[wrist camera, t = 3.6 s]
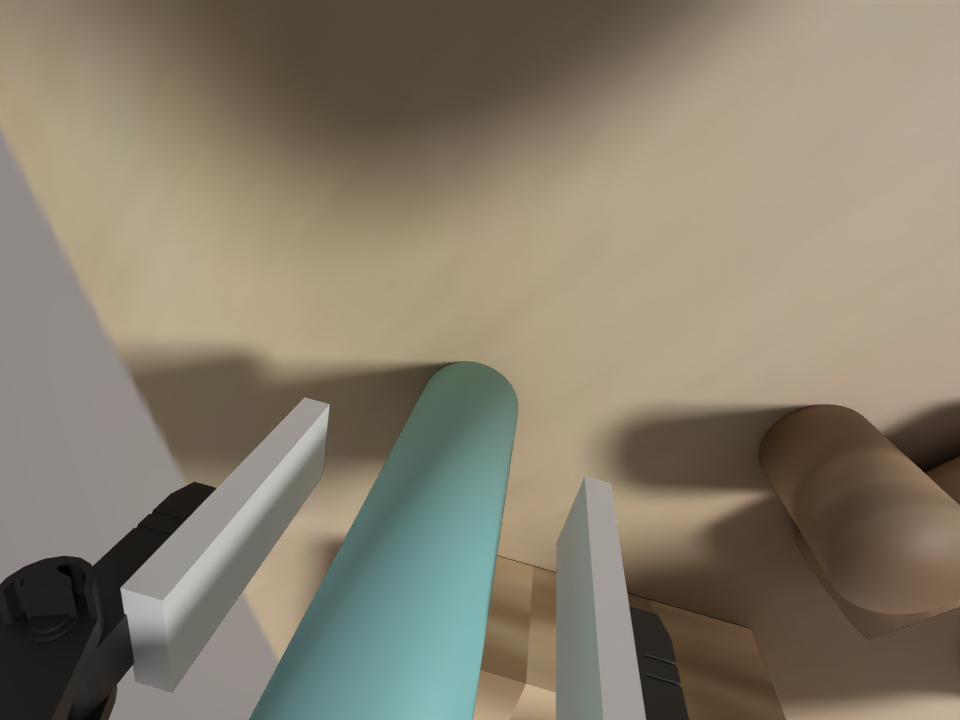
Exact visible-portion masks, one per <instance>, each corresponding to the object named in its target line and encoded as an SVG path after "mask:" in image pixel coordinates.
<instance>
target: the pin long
mask: <svg viewBox="0 0 960 720" xmlns="http://www.w3.org/2000/svg"><path fill="white" fill-rule="evenodd" d="M517 416H518V400H517V396H516V394H515V391H514V389H513V387H512V386H511V384H510V383H509V382H508V380H507V379H506V378H505V377H504V376H503V375H501V374H500V373H499V372H497V371H496V370H494V369H493V368H490V367H488V366H486V365H483V364H480V363H475V362H458V363H453V364H450V365H447V366H445V367H443V368H441V369H440V370H438V371H437V372H436V373H435V374H434V375H433V376H432V377H431V378H430V379H429V381H428V382H427V384H426V386H425V388H424V390H423V392H422V394H421V396H420V398H419V399H418V401H417V403H416V405H415V407H414V409H413V411H412V413H411V415H410V416H409V418H408V420H407V422H406V424H405V426H404V428H403V430H402V432H401V434H400V435H399V437H398V439H397V441H396V443H395V445H394V447H393V449H392V451H391V452H390V454H389V456H388V458H387V460H386V462H385V464H384V466H383V468H382V469H381V471H380V473H379V475H378V477H377V479H376V481H375V483H374V485H373V486H372V488H371V490H370V492H369V494H368V496H367V498H366V500H365V502H364V503H363V505H362V507H361V509H360V511H359V513H358V515H357V517H356V519H355V520H354V522H353V524H352V526H351V528H350V530H349V532H348V534H347V536H346V537H345V539H344V541H343V543H342V545H341V547H340V549H339V551H338V553H337V554H336V556H335V558H334V560H333V562H332V564H331V566H330V568H329V570H328V571H327V573H326V575H325V577H324V579H323V581H322V583H321V585H320V587H319V588H318V590H317V592H316V594H315V596H314V598H313V600H312V602H311V604H310V605H309V607H308V609H307V611H306V613H305V615H304V617H303V619H302V621H301V622H300V624H299V626H298V628H297V630H296V632H295V634H294V636H293V638H292V639H291V641H290V643H289V645H288V647H287V649H286V651H285V653H284V655H283V656H282V658H281V660H280V662H279V664H278V666H277V668H276V670H275V672H274V674H273V675H272V677H271V679H270V681H269V683H268V685H267V687H266V689H265V690H264V692H263V694H262V696H261V698H260V700H259V702H258V704H257V706H256V707H255V709H254V711H253V713H252V715H251V717H250V719H249V720H473V716H474V710H475V703H476V696H477V689H478V682H479V675H480V669H481V662H482V655H483V648H484V641H485V634H486V628H487V621H488V614H489V607H490V600H491V593H492V587H493V580H494V573H495V566H496V559H497V552H498V546H499V539H500V532H501V525H502V518H503V511H504V505H505V498H506V491H507V484H508V477H509V470H510V464H511V457H512V450H513V443H514V436H515V429H516V423H517Z"/></svg>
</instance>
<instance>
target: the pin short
mask: <svg viewBox="0 0 960 720" xmlns="http://www.w3.org/2000/svg"><path fill="white" fill-rule="evenodd" d="M759 461H760V465H761V467H762V469H763V471H764V473H765V474H766V476H767V478H768V479H769V481H770V483H771V484H772V486H773V487H774V489H775V491H776V492H777V494H778V496H779V497H780V499H781V501H782V502H783V504H784V505H785V507H786V509H787V510H788V512H789V514H790V515H791V517H792V519H793V520H794V522H795V524H796V525H797V527H798V528H799V530H800V532H801V533H802V535H803V537H804V538H805V540H806V542H807V543H808V545H809V547H810V548H811V550H812V551H813V553H814V555H815V556H816V558H817V560H818V561H819V563H820V565H821V566H822V568H823V570H824V571H825V573H826V574H827V576H828V578H829V579H830V581H831V583H832V584H833V586H834V588H835V589H836V590H837V592H838V593H839V594H840V595H841V596H842V597H843V598H845V599H846V600H847V601H849V602H851V603H852V604H854V605H856V606H858V607H861V608H864V609H867V610H870V611H874V612H880V613H887V614H910V613H918V612H924V611H929V610H933V609H937V608H940V607H943V606H945V605H948V604H950V603H953V602H955V601H957V600H959V599H960V505H959V504H957V503H956V502H955V501H954V500H953V499H952V498H951V497H950V496H949V495H948V494H947V493H946V492H944V491H943V490H942V489H941V488H940V487H939V486H938V485H937V484H936V483H935V482H934V481H933V480H931V479H930V478H929V477H928V476H927V475H926V474H925V473H924V472H923V471H922V470H921V469H920V468H918V467H917V466H916V465H915V464H914V463H913V462H912V461H911V460H910V459H909V458H908V457H907V456H905V455H904V454H903V453H902V452H901V451H900V450H899V449H898V448H897V447H896V446H895V445H894V444H893V443H891V442H890V441H889V440H888V439H887V438H886V437H885V436H884V435H883V434H882V433H881V432H880V431H878V430H877V429H876V428H875V427H874V426H873V425H872V424H871V423H870V422H869V421H868V420H867V419H865V418H864V417H863V416H862V415H861V414H859V413H858V412H856V411H854V410H852V409H849V408H846V407H843V406H838V405H814V406H809V407H805V408H802V409H799V410H796V411H794V412H791V413H789V414H788V415H786V416H784V417H783V418H781V419H780V420H778V421H777V422H776V423H775V424H774V425H773V426H772V427H771V428H770V429H769V430H768V431H767V433H766V434H765V436H764V437H763V439H762V441H761V444H760V448H759Z"/></svg>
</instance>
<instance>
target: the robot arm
mask: <svg viewBox="0 0 960 720" xmlns="http://www.w3.org/2000/svg"><path fill="white" fill-rule="evenodd" d="M329 406H330V404H327V403H323V402H320V401H316V400H312V399H309V398H304V399H303V400H302V401H301V402H300V403H299V404H298V405H297V406H296V407H295V408H294V409H293V410H292V411H291V412H290V413H289V414H288V415H287V416H286V417H285V418H284V419H283V420H282V421H281V422H280V423H279V425H278V426H277V427H276V428H275V429H274V430H273V431H272V432H271V433H270V434H269V435H268V436H267V437H266V438H265V439H264V440H263V441H262V442H261V443H260V444H259V445H258V446H257V447H256V448H255V449H254V450H253V451H252V452H251V453H250V455H249V456H248V457H247V458H246V459H245V460H244V461H243V462H242V463H241V464H240V465H239V466H238V467H237V468H236V469H235V470H234V471H233V472H232V473H231V474H230V475H229V476H228V477H227V478H226V479H225V480H224V481H223V482H222V483H221V485H220V486H219V487H218V488H215V487H211V486H208V485H204V484H201V483H197V482H193V483H191V484H189V485H187V486H185V487H183V488H182V489H179V490H177V491H175V492H174V493H171V494H170V495H169V496H168V497H167V498H166V499H165V500H164V501H163V502H162V503H161V504H159V505H158V506H157V507H156V508H155V509H154V510H153V512H152V514H149V515H147V517H145V518H144V519H143V520H142V521H141V522H140V523H139V524H138V526H137V528H134V529H133V530H131V531H130V532H129V533H128V534H127V535H126V536H125V537H124V538H123V539H122V540H120V541H119V542H118V543H117V544H116V545H115V546H114V547H113V548H112V549H111V550H110V551H109V552H108V553H107V554H105V555H104V556H103V557H102V558H101V559H100V560H99V561H98V562H97V563H96V564H95V565H93V566H92V565H91V564H90V563H88V562H87V561H85V560H83V559H82V558H79V557H70V556H60V557H54V558H47V559H43V560H41V561H38V562H35V563H32V564H30V565H27V566H25V567H23V568H21V569H20V570H18V571H17V572H15V573H14V574H12V575H10V576H9V577H7V578H6V579H5V580H4V581H3V582H2V583H1V584H0V720H109V717H110V714H111V712H112V709H113V706H114V703H115V700H116V694H117V684H118V682H119V681H120V680H121V679H122V677H123V676H124V675H125V674H126V672H127V671H128V670H129V669H130V667H131V666H132V665H133V670H134V676H135V681H136V682H139V683H142V684H145V685H149V686H152V687H155V688H158V689H162V690H165V691H168V692H172V693H173V691H174V690H175V688H176V687H177V685H178V684H179V683H180V681H181V680H182V678H183V677H184V675H185V674H186V672H187V671H188V669H189V668H190V666H191V665H192V664H193V662H194V661H195V659H196V658H197V657H198V655H199V654H200V652H201V651H202V649H203V648H204V646H205V645H206V643H207V642H208V641H209V639H210V638H211V636H212V635H213V633H214V632H215V631H216V629H217V627H218V626H219V625H220V623H221V622H222V620H223V619H224V618H225V616H226V615H227V613H228V612H229V610H230V609H231V607H232V606H233V605H234V603H235V602H236V600H237V598H238V597H239V596H240V594H241V593H242V592H243V590H244V589H245V587H246V586H247V584H248V583H249V581H250V580H251V579H252V577H253V576H254V574H255V573H256V571H257V570H258V568H259V567H260V566H261V564H262V563H263V561H264V560H265V558H266V557H267V555H268V554H269V553H270V551H271V550H272V548H273V547H274V545H275V544H276V542H277V541H278V540H279V538H280V537H281V535H282V534H283V532H284V531H285V529H286V528H287V527H288V525H289V524H290V522H291V521H292V519H293V518H294V516H295V515H296V514H297V512H298V511H299V509H300V508H301V506H302V505H303V503H304V502H305V501H306V499H307V498H308V496H309V495H310V493H311V492H312V490H313V489H314V488H315V486H316V485H317V483H318V482H319V480H320V479H321V477H322V474H323V465H324V455H325V445H326V436H327V426H328V416H329ZM680 683H681V681H680V676H679V672H678V667H676V658H675V654H674V649H673V645H672V640H671V637H670V635H669V633H668V632H667V630H666V628H665V626H664V625H663V623H662V621H661V619H660V618H659V616H658V614H655V613H652V612H648V611H645V610H641V609H638V608H634V607H631V606H629V602H628V595H627V589H626V582H625V575H624V568H623V562H622V555H621V548H620V542H619V535H618V528H617V521H616V515H615V508H614V501H613V495H612V488H611V483H608V482H605V481H601V480H598V479H594V478H591V477H587V476H585V477H584V479H583V481H582V484H581V486H580V489H579V491H578V493H577V496H576V498H575V501H574V503H573V505H572V508H571V510H570V513H569V515H568V517H567V520H566V522H565V525H564V527H563V529H562V532H561V534H560V537H559V539H558V541H557V575H556V720H689V717H688V712H687V708H686V703H685V699H684V694H683V690H682V687H680Z"/></svg>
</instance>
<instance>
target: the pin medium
mask: <svg viewBox="0 0 960 720" xmlns="http://www.w3.org/2000/svg"><path fill="white" fill-rule="evenodd" d="M925 474H926V475H927V476H928V477H929V478H930V479H931V480H933V481H934V482H935V483H936V484H937V485H938V486H939V487H940V488H941V489H942V490H943V491H944V492H946V493H947V494H948V495H949V496H950V497H951V498H952V499H953V500H954V501H955V502H956V503H957V504H959V505H960V456H959V457H956V458H954V459H952V460H950V461H948V462H946V463H944V464H942V465H940V466H938V467H936V468H933V469H931V470H929V471H927V472H925ZM794 539H795V541H796V544H797V546H798V548H799V549H800V551H801V553H802V555H803V556H804V558H805V560H806V561H807V563H808V564H809V566H810V568H811V569H812V571H813V572H814V574H815V575H816V577H817V578H818V579H819V581H820V582H821V584H822V585H823V587H824V588H825V589H826V591H827V592H828V593H829V595H830V596H831V598H832V599H833V600H834V602H835V603H836V604H837V605H838V607H839V608H840V609H841V611H842V612H843V613H844V614H845V616H846V617H847V618H848V619H849V620H850V622H851V623H852V624H853V625H854V626H855V627H856V628H857V629H858V631H859V632H860V633H861V634H862V635H863V636H865V637H866V638H867V639H869V640H871V639H873V638H876V637H879V636H882V635H884V634H887V633H890V632H893V631H895V630H898V629H901V628H904V627H906V626H909V625H912V624H914V623H917V622H920V621H923V620H925V619H928V618H931V617H934V616H936V615H939V614H942V613H945V612H947V611H950V610H953V609H956V608H958V607H960V599H959V600H957V601H955V602H953V603H950V604H948V605H945V606H943V607H940V608H937V609H933V610H929V611H924V612H918V613H910V614H887V613H880V612H874V611H870V610H867V609H864V608H861V607H858V606H856V605H854V604H852V603H851V602H849V601H847V600H846V599H845V598H843V597H842V596H841V595H840V594H839V593H838V592H837V590H836V589H835V588H834V586H833V584H832V583H831V581H830V579H829V578H828V576H827V574H826V573H825V571H824V570H823V568H822V566H821V565H820V563H819V561H818V560H817V558H816V556H815V555H814V553H813V551H812V550H811V548H810V547H809V545H808V543H807V542H806V540H805V538H804V537H803V535H802V533H801V532H800V533H798V534H795V535H794Z"/></svg>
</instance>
